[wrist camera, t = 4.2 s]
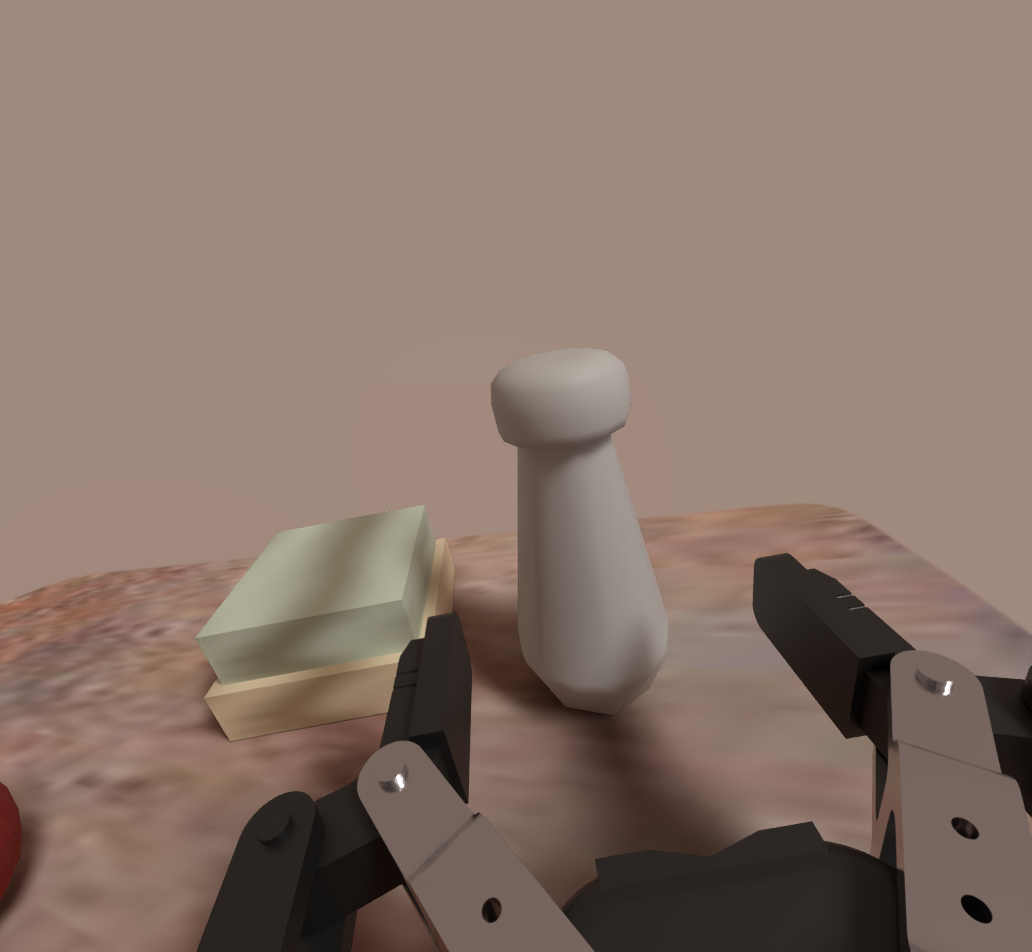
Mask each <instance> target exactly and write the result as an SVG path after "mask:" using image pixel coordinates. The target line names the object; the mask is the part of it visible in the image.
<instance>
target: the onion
mask: <svg viewBox="0 0 1032 952" xmlns="http://www.w3.org/2000/svg"><path fill="white" fill-rule="evenodd" d="M20 849H21V823H20V817H19V810H18V807H17V805H16V803H15V802H14V800H13V798H12V796H11V794H10V792H9V790H8V788H7V787H6V786H5V785H3V784H2V783H1V782H0V900H1V898H2V897H3V895H4V893H5V891H6V889H7V887H8V885H9V883H10V880H11V878H12V875H13V873H14V870H15V868H16V865H17V863H18V860H19V858H20Z"/></svg>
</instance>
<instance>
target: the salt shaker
mask: <svg viewBox="0 0 1032 952" xmlns="http://www.w3.org/2000/svg"><path fill="white" fill-rule="evenodd" d="M491 405H492V409H493V413H494V416H495V420H496V424H497V428H498V431H499V433H500V435H501V437H502V439H503V440H504V442H507V443H509V444H512V445H514V446H516V447H518V632H519V638H520V644H521V649H522V654H523V656H524V658H525V661H526V663H527V664H528V665H529V666H530V668H531V669H532V670H533V671H534V672H535V673H536V674H537V675H538V676H539V677H540V679H541V680H542V681H543V682H544V683H545V684H546V685H547V686H548V687H549V689H550V690H551V691H552V692H553V693H554V694H555V695H556V697H557V698H558V699H559V700H560V701H561V702H562V703H563V705H564V706H565V707H567V708H573V709H579V710H584V711H590V712H596V713H602V714H607V715H614V714H616V713H617V712H618V711H620V710H621V709H622V708H624V707H625V706H626V705H628V704H629V703H630V702H632V701H633V700H635V699H636V698H637V697H639V696H640V695H641V694H643V693H644V692H645V691H647V690H648V689H649V687H650V685H651V683H652V681H653V680H654V678H655V676H656V674H657V672H658V670H659V668H660V667H661V665H662V663H663V661H664V659H665V657H666V650H667V640H668V626H669V620H668V617H667V614H666V611H665V608H664V604H663V601H662V598H661V595H660V591H659V588H658V585H657V582H656V579H655V575H654V572H653V569H652V566H651V563H650V559H649V556H648V553H647V550H646V547H645V543H644V540H643V537H642V534H641V531H640V527H639V524H638V521H637V518H636V515H635V512H634V508H633V505H632V502H631V499H630V496H629V492H628V489H627V486H626V483H625V479H624V476H623V473H622V470H621V467H620V463H619V460H618V457H617V454H616V450H615V447H614V444H613V441H612V437H611V434H612V433H614V432H615V431H617V430H619V429H621V428H622V427H624V425H625V422H626V420H627V417H628V414H629V410H630V406H631V403H630V383H629V379H628V375H627V372H626V368H625V364H624V363H622V362H621V361H620V360H619V359H617V358H616V357H615V356H614V355H613V354H611V353H609V352H607V351H606V350H597V349H588V348H573V349H562V350H555V351H549V352H544V353H540V354H536V355H532V356H529V357H526V358H523V359H521V360H518V361H516V362H514V363H512V364H510V365H508V366H507V367H505V368H504V369H502V370H501V371H499V373H498V374H497V376H496V377H495V379H494V380H493V382H492V383H491Z"/></svg>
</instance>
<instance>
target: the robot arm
mask: <svg viewBox="0 0 1032 952" xmlns="http://www.w3.org/2000/svg"><path fill="white" fill-rule="evenodd" d="M753 610H754V615H755V618H756V620H757V622H758V624H759V626H760V628H761V629H762V631H763V632H764V633H765V634H766V636H767V637H768V638H769V640H770V641H771V642H772V644H773V645H774V646H775V647H776V649H777V650H778V651H779V653H780V654H781V655H782V656H783V658H784V659H785V660H786V662H787V663H788V664H789V666H790V667H791V668H792V669H793V671H794V672H795V673H796V675H797V676H798V677H799V678H800V680H801V681H802V682H803V684H804V685H805V686H806V688H807V689H808V690H809V691H810V693H811V694H812V695H813V697H814V698H815V699H816V701H817V702H818V703H819V704H820V706H821V707H822V708H823V710H824V711H825V712H826V713H827V715H828V716H829V717H830V719H831V720H832V721H833V723H834V724H835V725H836V726H837V728H838V729H839V730H840V732H841V733H842V734H843V735H844V737H845V738H846V739H848V738H853V737H859V736H865V735H867V736H868V738H869V739H870V740H871V741H872V742H873V744H874V749H873V755H872V841H871V850H870V855H869V854H867V853H865V852H863V851H860V850H857V849H854V848H851V847H849V846H845V845H841V844H837V843H833V842H828V841H824V840H823V839H822V837H821V835H820V834H819V832H818V830H817V829H816V827H815V825H814V824H813V822H812V821H811V822H806V823H800V824H794V825H788V826H783V827H777V828H771V829H765V830H760V831H757V832H755V833H753V834H752V835H750V836H748V837H746V838H744V839H742V840H741V841H739V842H737V843H735V844H733V845H731V846H730V847H728V848H726V849H724V850H722V851H720V852H719V853H717V854H715V855H712V856H708V857H706V856H695V855H687V854H679V853H670V852H662V851H654V850H644V851H639V852H633V853H627V854H621V855H616V856H610V857H604V858H598V859H595V861H596V867H597V873H598V878H596V879H595V880H593V881H591V882H589V883H587V884H586V885H585V886H584V887H582V888H581V889H580V890H578V891H577V892H576V893H575V894H574V895H573V896H572V897H571V898H570V899H569V900H568V901H567V902H566V903H565V904H564V906H563V907H562V908H561V910H560V908H559V907H558V906H557V905H556V903H555V902H554V901H553V900H552V899H551V897H550V896H549V895H548V894H547V892H546V891H545V890H544V889H543V887H542V886H541V885H540V884H539V882H538V881H537V880H536V879H535V878H534V876H533V875H532V874H531V873H530V871H529V870H528V869H527V868H526V866H525V865H524V864H523V863H522V862H521V860H520V859H519V858H518V857H517V855H516V854H515V853H514V852H513V850H512V849H511V848H510V847H509V845H508V844H507V843H506V842H505V841H504V839H503V838H502V837H501V836H500V834H499V833H498V832H497V831H496V829H495V828H494V827H493V826H492V825H491V823H490V822H489V821H488V820H487V819H486V818H485V817H484V816H483V815H482V814H480V813H477V814H476V815H475V814H474V813H473V812H472V811H471V810H470V809H469V808H468V807H467V805H466V804H468V797H469V762H470V728H471V694H472V671H471V663H470V657H469V653H468V649H467V646H466V642H465V639H464V635H463V632H462V628H461V624H460V621H459V617H458V615H457V613H456V612H452V613H447V614H441V615H435V616H430V617H428V619H427V624H426V630H425V636H424V638H420V639H414V640H411V641H410V642H409V644H408V645H407V647H406V648H405V649H404V651H403V652H402V654H401V655H400V658H399V662H398V667H397V672H396V677H395V681H394V685H393V691H392V695H391V699H390V704H389V708H388V713H387V718H386V722H385V727H384V732H383V736H382V741H381V745H380V748H379V750H378V751H377V752H375V753H374V754H373V755H372V756H371V757H370V758H369V759H368V761H367V762H366V763H365V765H364V766H363V768H362V770H361V772H360V775H359V777H358V778H357V779H356V780H354V781H353V782H352V783H350V784H348V785H347V786H345V787H343V788H341V789H339V790H337V791H335V792H333V793H331V794H329V795H327V796H325V797H323V798H321V799H319V800H317V801H315V802H313V800H312V798H311V797H310V796H309V795H307V794H306V793H303V792H300V791H293V792H288V793H284V794H282V795H279V796H277V797H275V798H274V799H272V800H270V801H269V802H267V803H266V804H265V805H264V806H262V807H261V808H260V809H259V810H258V811H257V812H256V813H255V814H254V815H253V817H252V818H251V819H250V820H249V822H248V823H247V825H246V826H245V828H244V830H243V831H242V834H241V836H240V838H239V841H238V843H237V846H236V849H235V851H234V854H233V857H232V859H231V862H230V864H229V867H228V870H227V872H226V875H225V878H224V880H223V883H222V886H221V888H220V891H219V893H218V896H217V899H216V901H215V904H214V907H213V909H212V912H211V915H210V917H209V920H208V922H207V925H206V928H205V930H204V933H203V936H202V938H201V941H200V944H199V946H198V949H197V952H351V948H352V941H353V934H354V928H355V921H356V914H357V910H358V909H360V908H361V907H363V906H365V905H366V904H368V903H370V902H372V901H373V900H375V899H377V898H378V897H380V896H382V895H384V894H385V893H387V892H389V891H391V890H392V889H394V888H396V887H397V886H399V885H401V884H402V886H403V887H404V889H405V891H406V893H407V895H408V896H409V898H410V900H411V902H412V904H413V905H414V907H415V909H416V911H417V913H418V914H419V916H420V918H421V920H422V922H423V923H424V925H425V927H426V929H427V931H428V932H429V934H430V936H431V938H432V940H433V941H434V943H435V945H436V947H437V949H438V950H439V952H1032V836H1031V832H1030V828H1029V824H1028V820H1027V816H1026V812H1027V813H1028V814H1029V815H1030V816H1031V817H1032V666H1030V668H1029V670H1028V673H1027V676H1026V679H1025V680H1022V679H1010V678H998V677H985V676H976V675H974V674H973V673H972V672H970V671H969V670H968V669H967V668H965V667H964V666H962V665H961V664H959V663H957V662H956V661H954V660H952V659H949V658H947V657H945V656H942V655H939V654H935V653H932V652H927V651H918V650H916V649H914V648H913V647H912V646H911V645H910V644H909V643H908V642H907V641H905V640H904V639H903V638H902V637H901V636H900V635H899V634H897V633H896V632H895V631H894V630H893V629H892V628H891V627H889V626H888V625H887V624H886V623H885V622H884V621H883V620H882V619H880V618H879V617H878V616H877V615H876V614H875V613H874V612H872V611H871V610H870V609H869V608H868V607H867V608H866V607H865V605H864V604H863V603H862V602H861V601H860V600H859V599H858V598H857V597H855V596H852V594H851V592H850V591H849V590H847V589H846V588H845V587H844V586H843V585H842V584H841V583H839V582H838V581H837V580H836V579H834V578H832V577H830V576H828V575H826V574H824V573H822V572H820V571H818V570H816V569H808V570H807V569H806V568H804V567H803V566H802V565H801V564H800V563H799V562H798V561H797V560H796V559H795V558H794V557H793V556H791V555H790V554H788V553H784V554H778V555H773V556H767V557H762V558H757V559H756V561H755V564H754V584H753Z"/></svg>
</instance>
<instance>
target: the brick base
mask: <svg viewBox="0 0 1032 952" xmlns="http://www.w3.org/2000/svg"><path fill="white" fill-rule="evenodd" d="M454 585H455V571H454V567H453V563H452V560H451V556H450V552H449V549H448V545H447V541H446V538H443V539H437V540H435V539H434V535H433V532H432V529H431V525H430V521H429V518H428V514H427V511H426V507H425V505H421V506H415V507H410V508H405V509H400V510H394V511H389V512H383V513H378V514H373V515H367V516H362V517H357V518H351V519H346V520H341V521H336V522H330V523H325V524H319V525H314V526H309V527H303V528H298V529H293V530H288V531H282V532H278V533H277V534H276V535H275V537H274V538H273V539H272V541H271V542H270V543H269V545H268V546H267V547H266V548H265V550H264V551H263V552H262V554H261V555H260V556H259V557H258V558H257V560H256V561H255V562H254V564H253V565H252V566H251V567H250V569H249V570H248V571H247V572H246V574H245V575H244V576H243V578H242V579H241V580H240V581H239V583H238V584H237V585H236V586H235V588H234V589H233V590H232V592H231V593H230V594H229V595H228V597H227V598H226V599H225V601H224V602H223V603H222V604H221V606H220V607H219V608H218V609H217V611H216V612H215V613H214V615H213V616H212V617H211V618H210V620H209V621H208V622H207V623H206V625H205V626H204V627H203V629H202V630H201V631H200V632H199V634H198V635H197V636H196V637H195V639H196V641H197V642H198V644H199V646H200V647H201V649H202V651H203V653H204V654H205V656H206V658H207V660H208V661H209V663H210V665H211V666H212V668H213V670H214V672H215V673H216V675H217V679H216V680H215V682H214V683H213V685H212V686H211V688H210V689H209V691H208V692H207V694H206V696H205V697H204V699H205V701H206V703H207V704H208V706H209V707H210V709H211V711H212V712H213V714H214V716H215V717H216V719H217V721H218V722H219V724H220V725H221V727H222V729H223V730H224V732H225V734H226V735H227V737H228V739H229V740H230V741H235V740H240V739H246V738H251V737H257V736H262V735H268V734H273V733H278V732H284V731H289V730H295V729H300V728H306V727H311V726H317V725H322V724H327V723H333V722H338V721H344V720H349V719H355V718H360V717H366V716H371V715H376V714H382V713H387V712H388V708H389V704H390V699H391V695H392V691H393V685H394V681H395V677H396V672H397V667H398V662H399V658H400V655H401V654H402V652H403V651H404V649H405V648H406V647H407V645H408V644H409V642H410V641H411V640H414V639H420V638H424V636H425V630H426V624H427V619H428V617H430V616H435V615H441V614H447V613H452V608H453V597H454Z"/></svg>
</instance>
